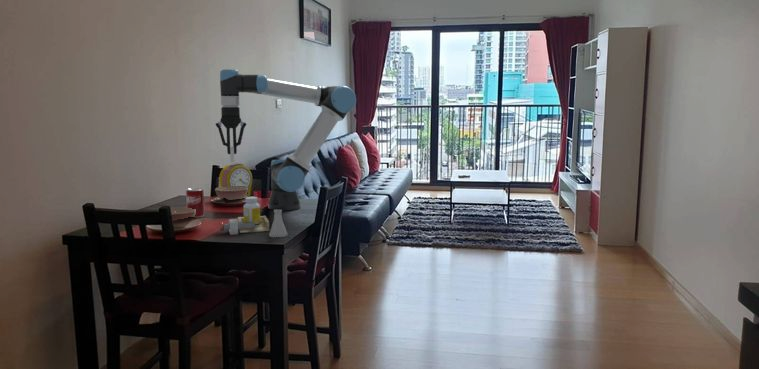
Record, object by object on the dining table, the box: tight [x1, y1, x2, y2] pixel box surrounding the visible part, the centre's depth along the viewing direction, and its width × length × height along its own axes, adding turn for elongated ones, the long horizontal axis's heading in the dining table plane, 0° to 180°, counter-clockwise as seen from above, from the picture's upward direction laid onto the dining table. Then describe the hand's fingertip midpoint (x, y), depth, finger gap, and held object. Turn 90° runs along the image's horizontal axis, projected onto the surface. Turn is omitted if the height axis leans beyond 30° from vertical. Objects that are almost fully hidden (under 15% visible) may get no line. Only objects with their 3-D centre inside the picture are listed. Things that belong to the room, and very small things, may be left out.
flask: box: [268, 210, 289, 239], centre depth 213 cm, size 7×7×10 cm
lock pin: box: [218, 221, 255, 233], centre depth 218 cm, size 13×4×4 cm, turn 108°
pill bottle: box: [242, 196, 261, 227], centre depth 225 cm, size 6×6×12 cm
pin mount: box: [228, 218, 239, 236], centre depth 218 cm, size 3×6×5 cm, turn 18°
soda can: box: [185, 187, 205, 219], centre depth 245 cm, size 7×7×12 cm
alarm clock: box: [218, 162, 253, 197], centre depth 286 cm, size 15×8×18 cm, turn 137°
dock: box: [236, 215, 271, 234], centre depth 225 cm, size 11×12×3 cm
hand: (232, 161), depth 241 cm, fingers closed
